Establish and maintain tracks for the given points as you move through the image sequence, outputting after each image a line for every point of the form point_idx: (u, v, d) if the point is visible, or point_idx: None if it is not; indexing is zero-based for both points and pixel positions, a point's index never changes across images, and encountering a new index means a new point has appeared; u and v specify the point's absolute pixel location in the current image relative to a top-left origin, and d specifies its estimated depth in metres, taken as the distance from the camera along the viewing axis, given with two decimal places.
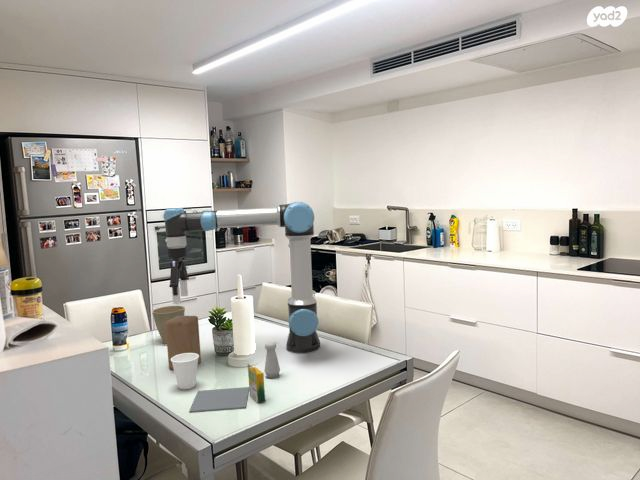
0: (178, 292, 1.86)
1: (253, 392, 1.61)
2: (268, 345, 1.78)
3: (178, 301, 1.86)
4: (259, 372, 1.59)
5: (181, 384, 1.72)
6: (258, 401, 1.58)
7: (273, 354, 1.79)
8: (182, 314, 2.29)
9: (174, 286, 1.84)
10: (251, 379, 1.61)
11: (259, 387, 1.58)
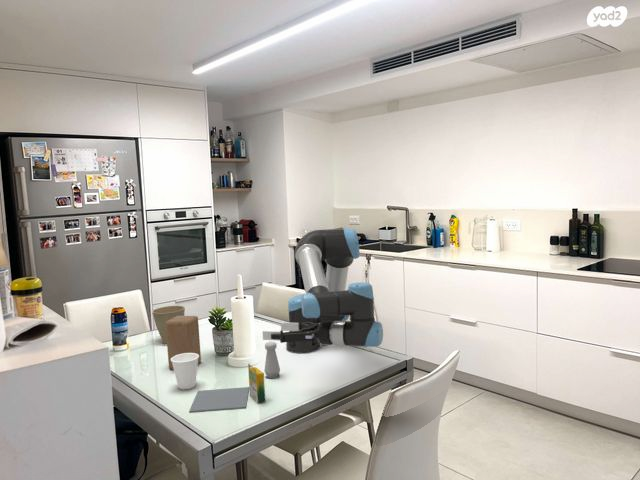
0: None
1: (253, 392, 1.61)
2: (268, 345, 1.78)
3: None
4: (260, 372, 1.59)
5: (181, 384, 1.72)
6: (258, 401, 1.58)
7: (273, 354, 1.79)
8: (182, 314, 2.29)
9: None
10: (251, 379, 1.61)
11: (259, 387, 1.58)
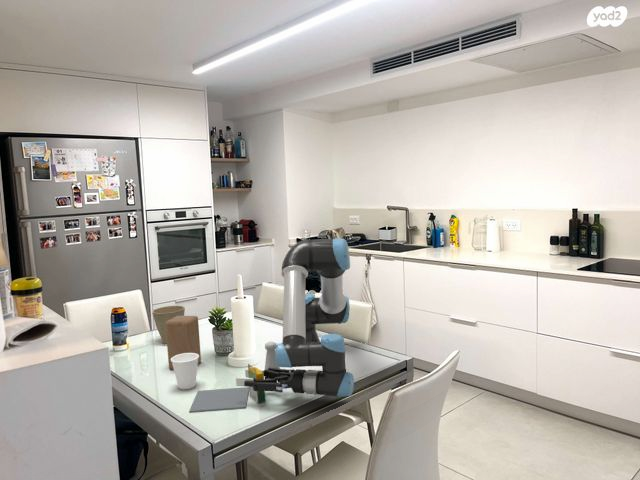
0: None
1: (253, 392, 1.61)
2: (268, 345, 1.78)
3: None
4: (259, 372, 1.59)
5: (181, 384, 1.72)
6: (258, 401, 1.58)
7: (273, 354, 1.79)
8: (182, 314, 2.29)
9: None
10: None
11: None
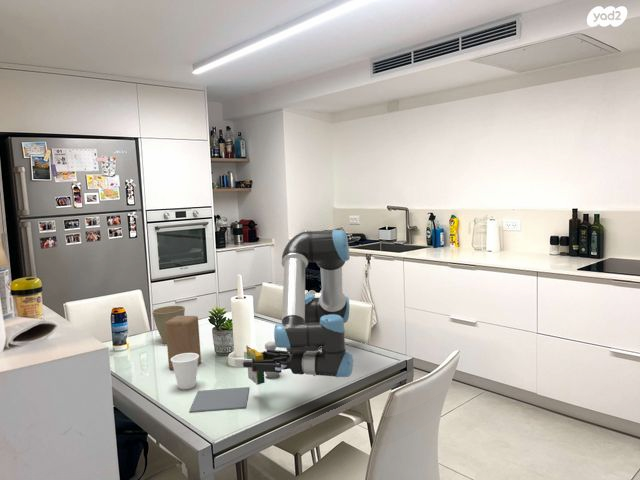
0: None
1: (252, 374, 1.60)
2: (268, 345, 1.78)
3: None
4: (259, 354, 1.58)
5: (181, 384, 1.72)
6: (258, 382, 1.58)
7: None
8: (182, 314, 2.29)
9: None
10: None
11: None
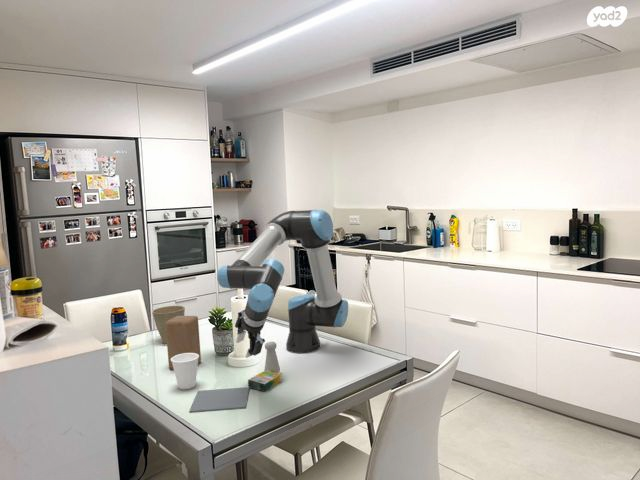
0: None
1: (261, 379, 1.71)
2: (268, 345, 1.79)
3: (251, 354, 1.72)
4: None
5: (181, 384, 1.72)
6: (265, 384, 1.67)
7: (273, 354, 1.79)
8: (182, 314, 2.29)
9: None
10: (266, 374, 1.75)
11: (273, 381, 1.71)
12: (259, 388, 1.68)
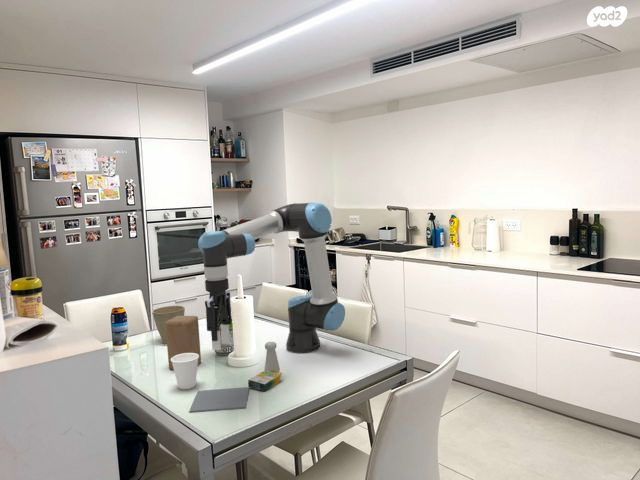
0: (218, 337, 1.56)
1: (261, 379, 1.71)
2: (268, 345, 1.79)
3: (218, 348, 1.57)
4: None
5: (181, 384, 1.72)
6: (265, 384, 1.67)
7: (273, 354, 1.79)
8: (182, 314, 2.29)
9: (212, 331, 1.54)
10: (266, 374, 1.75)
11: (273, 381, 1.71)
12: (259, 388, 1.68)
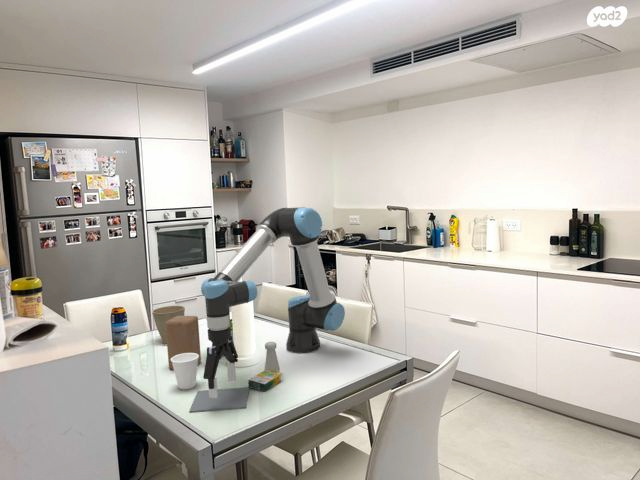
0: (214, 385, 1.55)
1: (261, 379, 1.71)
2: (268, 345, 1.79)
3: (214, 395, 1.55)
4: None
5: (181, 384, 1.72)
6: (265, 384, 1.67)
7: (273, 354, 1.79)
8: (182, 314, 2.29)
9: (208, 379, 1.52)
10: (266, 374, 1.75)
11: (273, 381, 1.71)
12: (259, 388, 1.68)
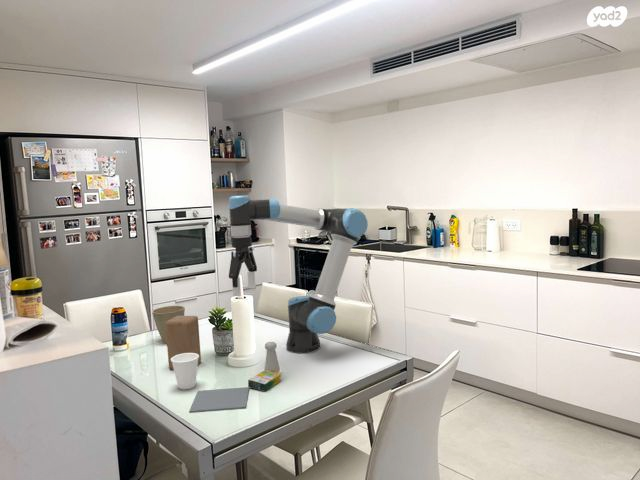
0: (238, 284, 1.76)
1: (261, 379, 1.71)
2: (268, 345, 1.79)
3: (238, 293, 1.76)
4: None
5: (181, 384, 1.72)
6: (265, 384, 1.67)
7: (273, 354, 1.79)
8: (182, 314, 2.29)
9: (233, 277, 1.74)
10: (266, 374, 1.75)
11: (273, 381, 1.71)
12: (259, 388, 1.68)
